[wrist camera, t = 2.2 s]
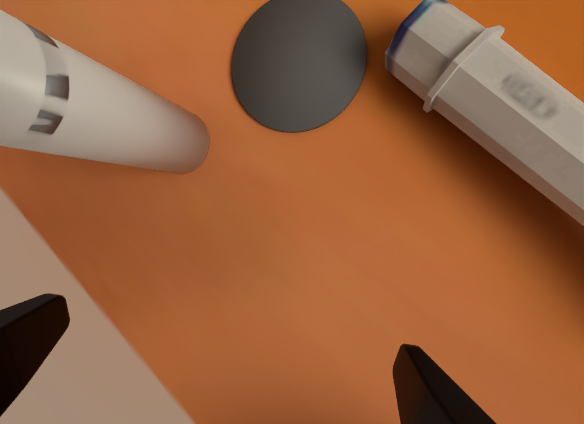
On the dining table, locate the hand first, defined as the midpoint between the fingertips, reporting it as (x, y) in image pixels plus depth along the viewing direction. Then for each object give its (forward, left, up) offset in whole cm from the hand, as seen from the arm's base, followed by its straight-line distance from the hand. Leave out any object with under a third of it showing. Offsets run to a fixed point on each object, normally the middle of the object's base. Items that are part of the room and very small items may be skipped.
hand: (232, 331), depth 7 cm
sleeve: (+6, +11, -12) cm, 17 cm away
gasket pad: (+12, +3, -12) cm, 17 cm away
